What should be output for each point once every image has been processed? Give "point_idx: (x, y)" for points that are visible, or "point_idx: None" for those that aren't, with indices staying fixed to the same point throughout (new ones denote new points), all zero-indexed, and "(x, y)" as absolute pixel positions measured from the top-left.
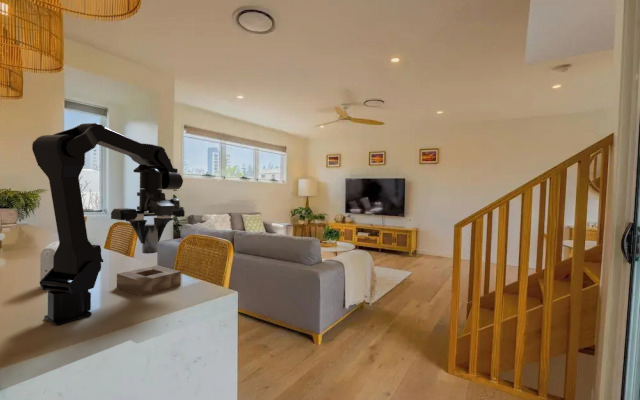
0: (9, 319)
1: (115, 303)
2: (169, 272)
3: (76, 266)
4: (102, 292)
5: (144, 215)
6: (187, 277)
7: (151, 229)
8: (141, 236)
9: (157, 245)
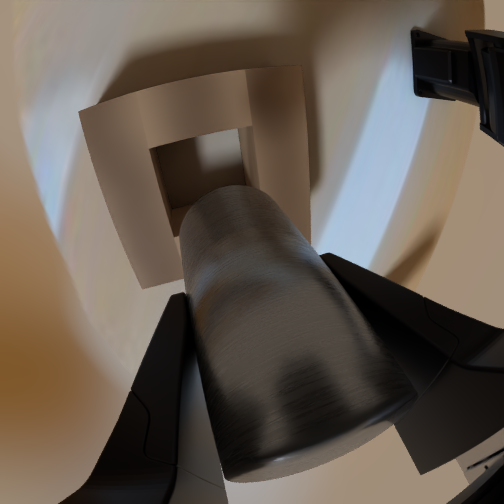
0: (467, 146)
1: (352, 60)
2: (130, 125)
3: None
4: (334, 194)
5: (476, 501)
6: (45, 200)
7: (355, 344)
8: (386, 282)
9: (197, 234)
